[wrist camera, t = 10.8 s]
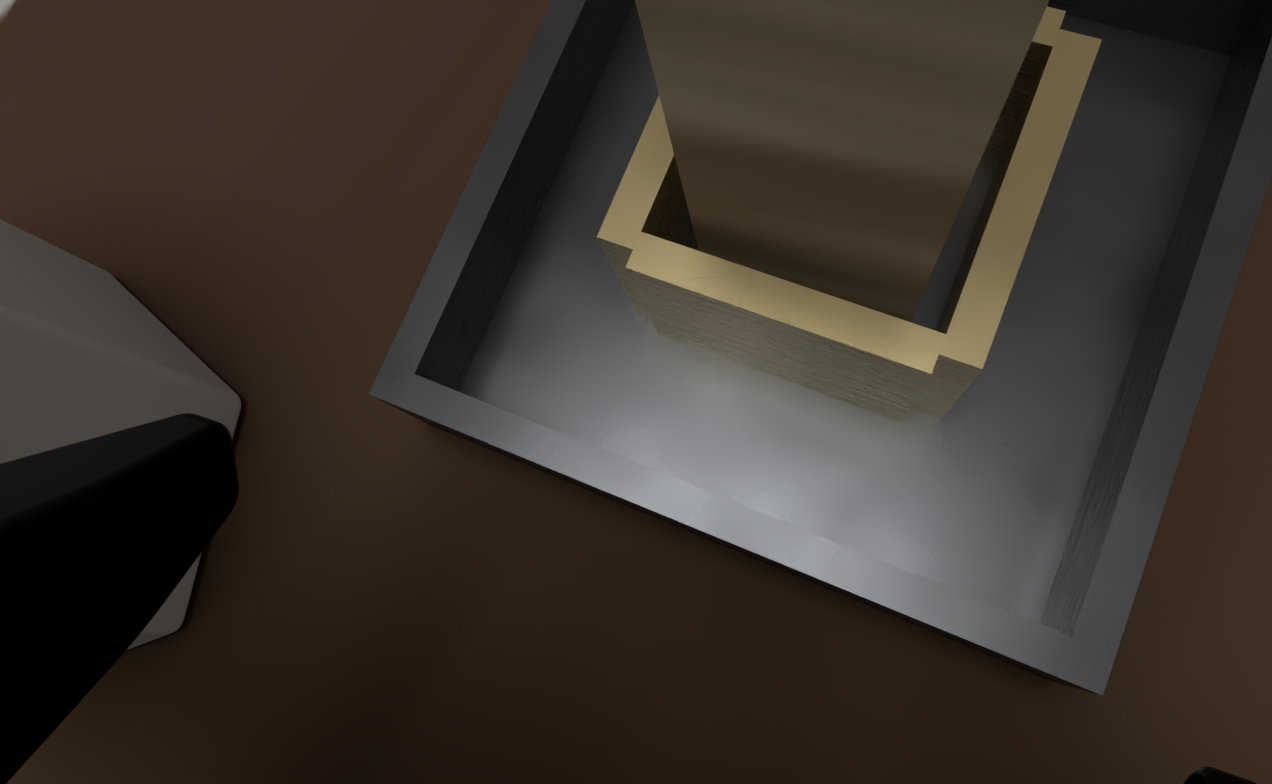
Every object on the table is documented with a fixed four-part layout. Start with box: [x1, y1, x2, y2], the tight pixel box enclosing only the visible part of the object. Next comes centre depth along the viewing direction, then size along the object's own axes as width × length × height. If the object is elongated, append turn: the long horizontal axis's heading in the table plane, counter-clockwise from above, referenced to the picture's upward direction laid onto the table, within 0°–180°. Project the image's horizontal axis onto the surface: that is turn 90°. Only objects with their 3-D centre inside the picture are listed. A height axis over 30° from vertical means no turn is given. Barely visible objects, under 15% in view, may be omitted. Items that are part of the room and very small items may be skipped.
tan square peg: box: [635, 0, 1049, 322], centre depth 11 cm, size 4×4×13 cm
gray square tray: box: [369, 0, 1272, 696], centre depth 16 cm, size 12×12×4 cm
